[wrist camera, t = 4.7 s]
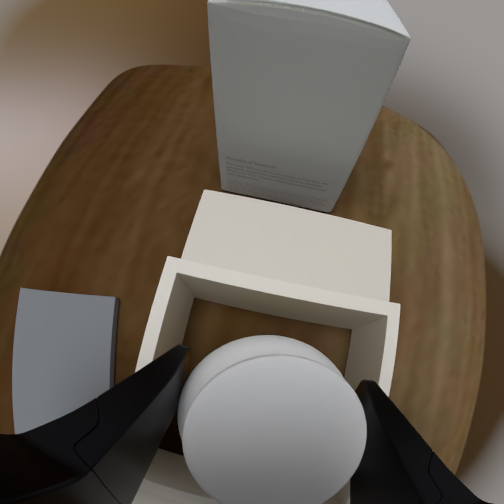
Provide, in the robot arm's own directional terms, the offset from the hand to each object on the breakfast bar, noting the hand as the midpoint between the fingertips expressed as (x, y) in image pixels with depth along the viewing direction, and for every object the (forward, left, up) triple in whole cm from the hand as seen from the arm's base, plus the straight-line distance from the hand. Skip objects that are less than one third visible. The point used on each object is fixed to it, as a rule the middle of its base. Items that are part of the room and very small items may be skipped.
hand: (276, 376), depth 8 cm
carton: (-1, 0, -7) cm, 7 cm away
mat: (-2, +12, -7) cm, 14 cm away
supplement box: (+14, -2, -7) cm, 15 cm away
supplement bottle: (-1, 0, -7) cm, 7 cm away
